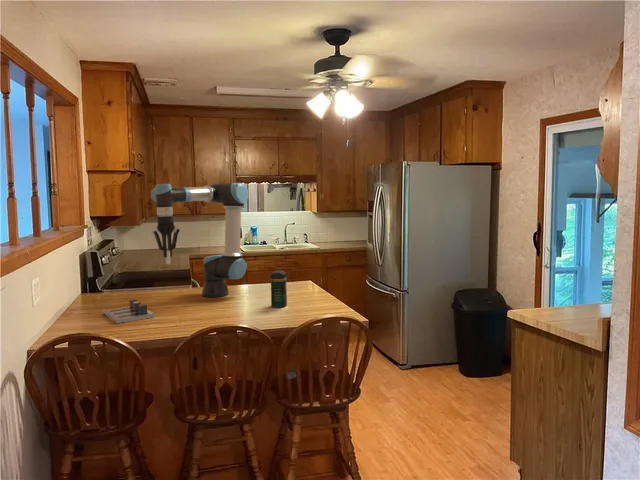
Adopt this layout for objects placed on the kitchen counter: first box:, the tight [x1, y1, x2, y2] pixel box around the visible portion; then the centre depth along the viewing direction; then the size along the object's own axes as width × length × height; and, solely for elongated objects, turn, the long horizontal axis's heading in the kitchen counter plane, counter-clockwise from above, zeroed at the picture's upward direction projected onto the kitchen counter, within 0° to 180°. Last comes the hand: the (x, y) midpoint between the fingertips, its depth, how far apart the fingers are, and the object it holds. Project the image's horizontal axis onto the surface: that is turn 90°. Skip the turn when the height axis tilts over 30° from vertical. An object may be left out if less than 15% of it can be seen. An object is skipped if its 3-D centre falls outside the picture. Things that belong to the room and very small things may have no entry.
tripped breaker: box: [132, 300, 142, 311], centre depth 256 cm, size 4×3×4 cm
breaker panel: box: [102, 298, 155, 324], centre depth 254 cm, size 24×18×6 cm
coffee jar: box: [270, 269, 288, 309], centre depth 266 cm, size 10×8×19 cm
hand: (168, 263), depth 251 cm, fingers closed
